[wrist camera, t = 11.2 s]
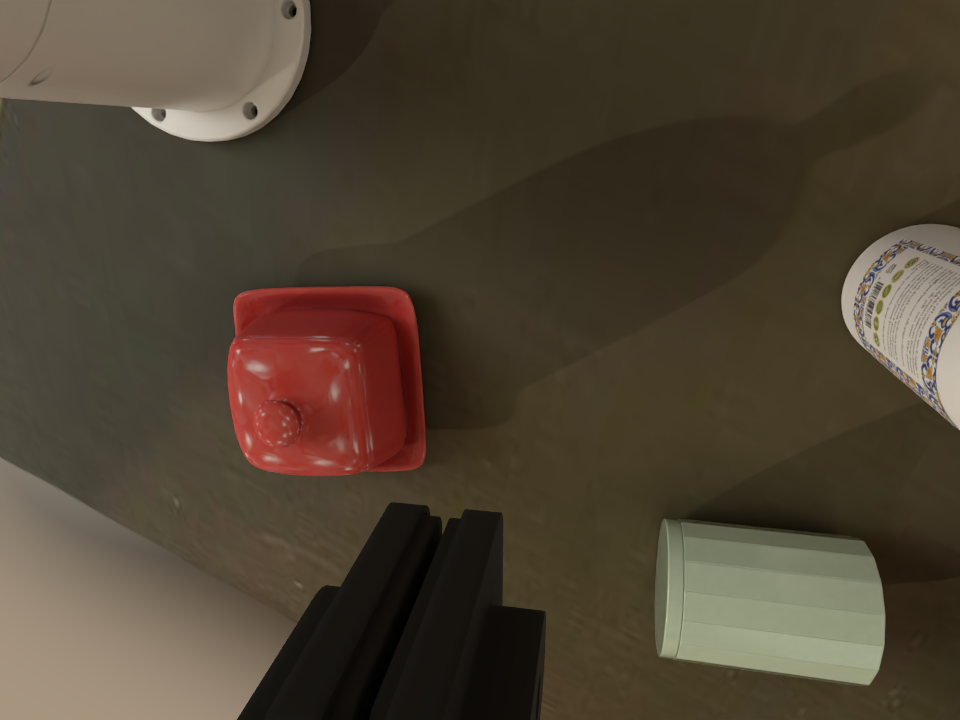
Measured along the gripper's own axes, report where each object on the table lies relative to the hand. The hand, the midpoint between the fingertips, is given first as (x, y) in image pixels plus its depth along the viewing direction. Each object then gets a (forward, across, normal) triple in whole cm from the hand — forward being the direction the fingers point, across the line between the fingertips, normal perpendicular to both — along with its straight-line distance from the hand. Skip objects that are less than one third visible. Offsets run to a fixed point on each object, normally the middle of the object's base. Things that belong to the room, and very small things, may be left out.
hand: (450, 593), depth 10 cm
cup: (+24, -6, +17) cm, 31 cm away
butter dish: (+29, +14, +8) cm, 33 cm away
